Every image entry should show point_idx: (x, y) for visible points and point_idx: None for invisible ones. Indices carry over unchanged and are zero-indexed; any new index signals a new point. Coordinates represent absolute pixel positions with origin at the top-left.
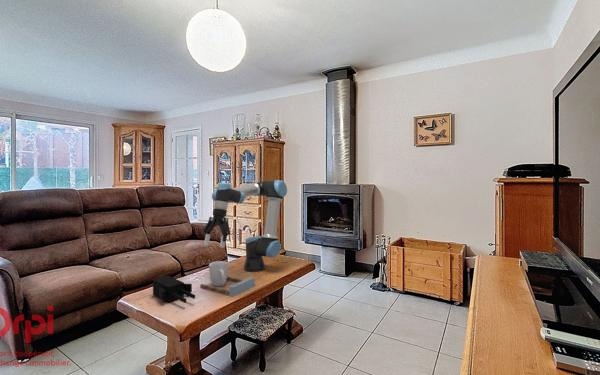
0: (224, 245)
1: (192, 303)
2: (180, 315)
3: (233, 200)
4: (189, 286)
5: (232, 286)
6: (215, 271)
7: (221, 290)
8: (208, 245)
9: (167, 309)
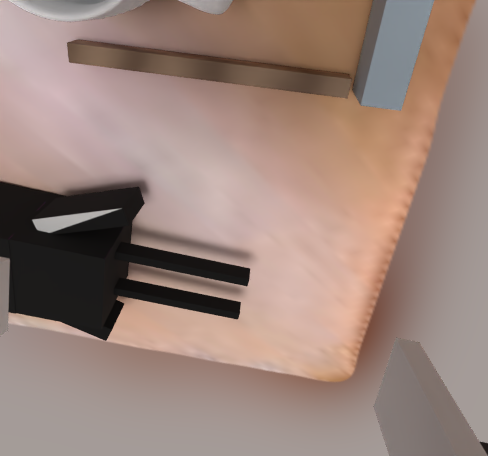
0: (429, 372)
1: (229, 243)
2: (274, 333)
3: None
4: (130, 220)
5: (386, 92)
6: (126, 10)
7: (285, 89)
8: (8, 264)
9: (180, 313)
